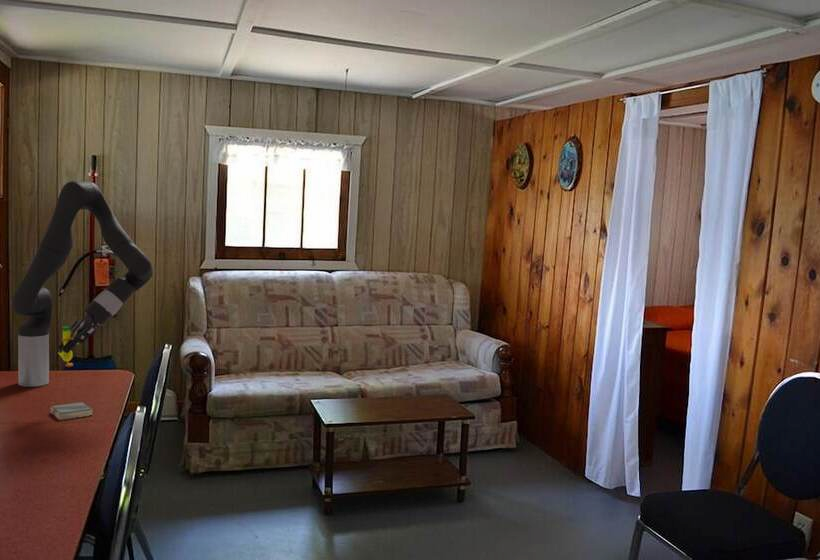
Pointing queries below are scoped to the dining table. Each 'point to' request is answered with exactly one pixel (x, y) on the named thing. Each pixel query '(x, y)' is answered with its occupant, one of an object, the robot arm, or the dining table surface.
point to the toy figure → (65, 339)
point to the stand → (71, 411)
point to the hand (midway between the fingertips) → (62, 350)
